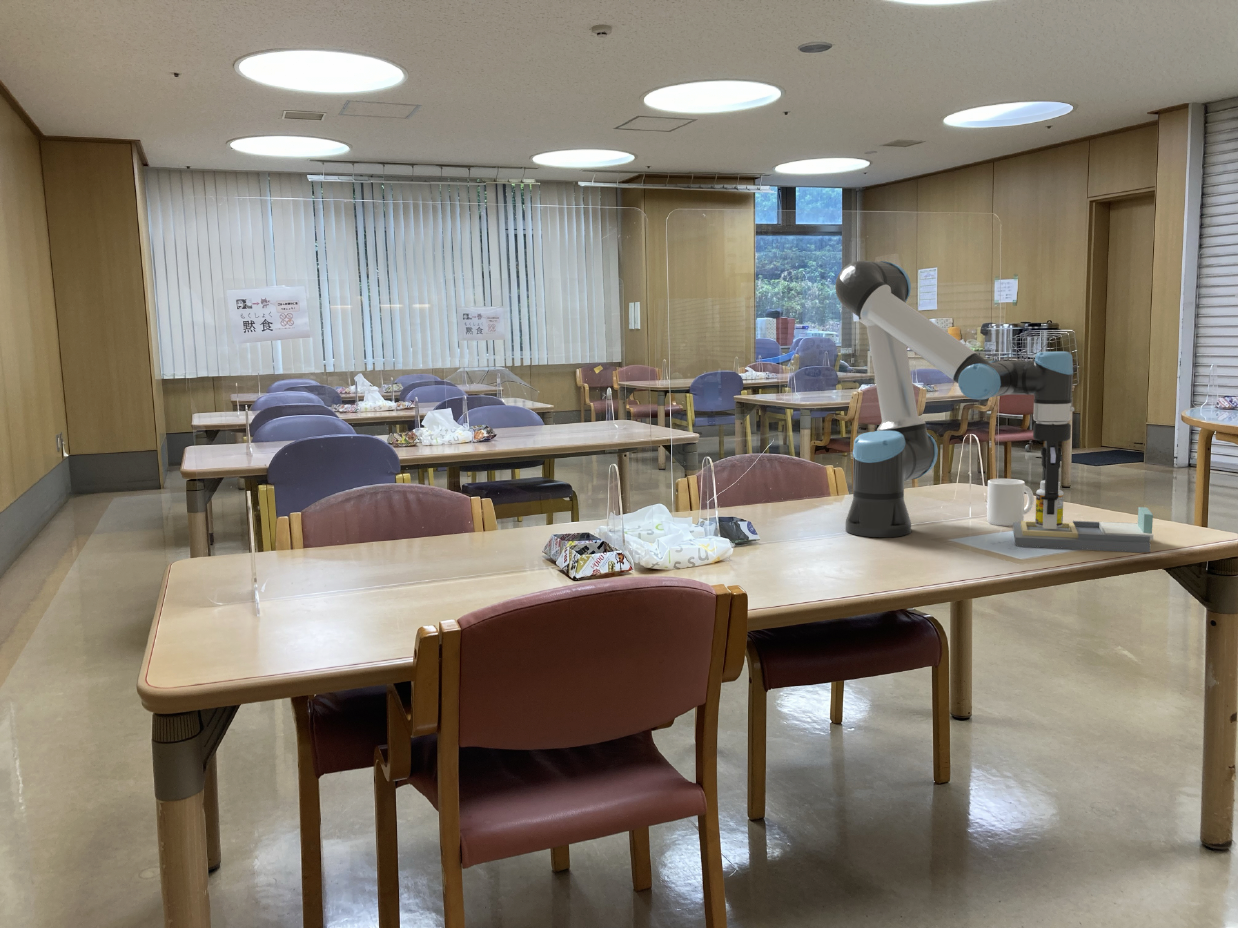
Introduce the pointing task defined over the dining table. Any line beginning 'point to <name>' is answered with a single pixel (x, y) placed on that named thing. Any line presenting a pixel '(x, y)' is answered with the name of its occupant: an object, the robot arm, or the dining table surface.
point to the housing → (1077, 537)
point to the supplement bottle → (1040, 505)
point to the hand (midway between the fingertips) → (1048, 525)
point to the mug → (1007, 501)
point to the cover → (1131, 525)
